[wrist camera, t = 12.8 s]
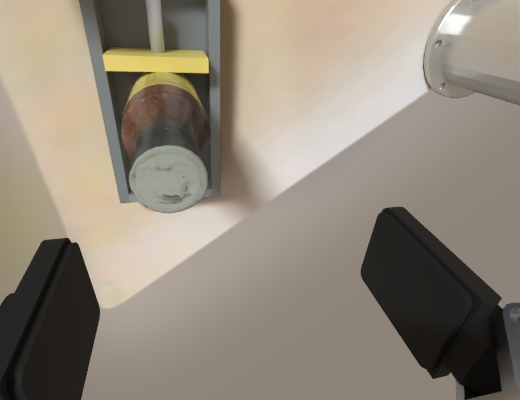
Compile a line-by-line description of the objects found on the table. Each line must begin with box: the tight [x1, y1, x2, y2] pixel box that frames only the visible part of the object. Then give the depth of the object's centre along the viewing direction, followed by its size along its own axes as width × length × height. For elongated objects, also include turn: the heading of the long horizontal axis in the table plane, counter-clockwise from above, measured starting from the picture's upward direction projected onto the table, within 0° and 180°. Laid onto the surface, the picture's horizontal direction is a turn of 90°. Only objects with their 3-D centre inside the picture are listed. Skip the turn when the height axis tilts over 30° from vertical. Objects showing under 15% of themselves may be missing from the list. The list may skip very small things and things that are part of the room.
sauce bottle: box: [121, 72, 210, 213], centre depth 24 cm, size 6×6×20 cm
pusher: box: [102, 0, 209, 73], centre depth 27 cm, size 8×5×5 cm, turn 86°
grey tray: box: [79, 0, 220, 203], centre depth 31 cm, size 11×22×4 cm, turn 176°
